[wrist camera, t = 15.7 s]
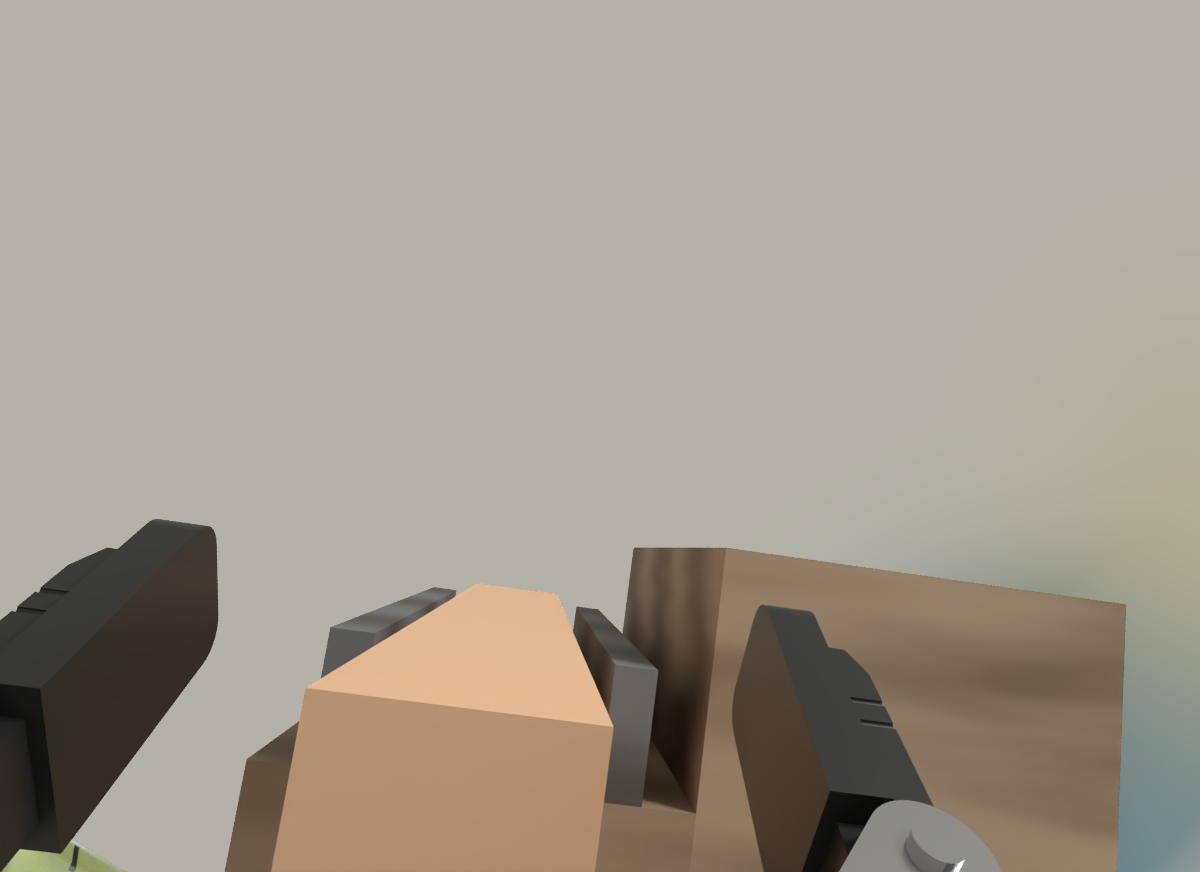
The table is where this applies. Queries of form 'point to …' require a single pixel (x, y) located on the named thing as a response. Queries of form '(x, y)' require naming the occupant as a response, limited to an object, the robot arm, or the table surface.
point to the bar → (453, 748)
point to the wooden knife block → (878, 644)
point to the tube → (60, 861)
